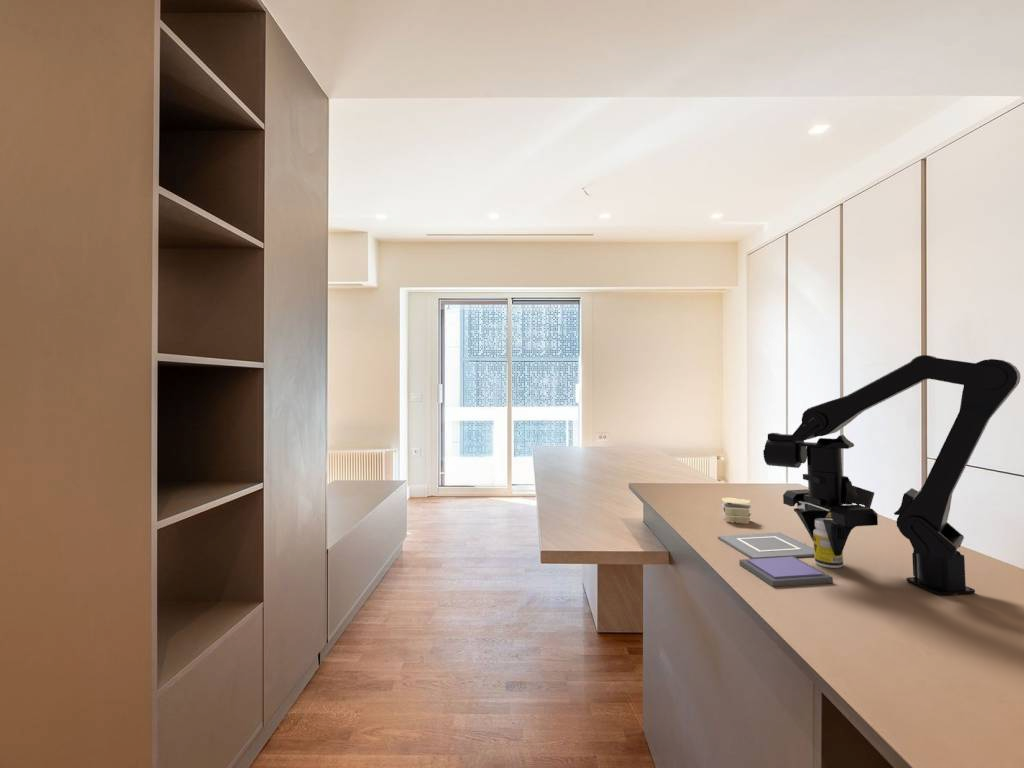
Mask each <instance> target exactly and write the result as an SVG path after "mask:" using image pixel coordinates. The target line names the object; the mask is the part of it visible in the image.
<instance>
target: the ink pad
mask: <svg viewBox="0 0 1024 768" xmlns="http://www.w3.org/2000/svg"><path fill="white" fill-rule="evenodd" d="M738 561H739V563H738V564H739V566H741V567H742V568H744V569H745V570H747V571H748V572H750V573H751V574H753V575H754V576H756V577H757V578H759V579H760V580H762V581H763V582H765V583H766V584H768V585H770V586H771V587H773V588H774V587H775V588H776V587H788V586H790V587H791V586H805V585H818V584H819V585H820V584H833V583H834V578H833V576H831V575H830V574H827V573H826V572H824V571H822V570H820V569H818V568H816V567H814V566H812V565H810V564H808V563H806V562H805V561H803V560H802V559H799V558H798V557H796V558H795V557H793V556H791V557H775V558H758V559H751V558H745V559H739V560H738Z"/></svg>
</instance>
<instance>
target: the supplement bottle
mask: <svg viewBox="0 0 1024 768" xmlns="http://www.w3.org/2000/svg"><path fill="white" fill-rule="evenodd" d="M823 520H832V519H828V518H817V519H815V527H816V529H814V531H813V538H814V542H813V548H814V556H813V557H814V559H813V560H814V563H815V564H816V565H818V566H821V567H823V568H828V569H829V568H832V569H839V568H842V567H843V566H844V555H843V553H844V552H843V551H844V550H843V551H842V554H841V555H840V556H836V555H834V553H833V550H832V548H831V544H830V541H829V538H828V535H827V532H826V529H825V525H824V522H823Z"/></svg>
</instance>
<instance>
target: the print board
mask: <svg viewBox="0 0 1024 768" xmlns="http://www.w3.org/2000/svg"><path fill="white" fill-rule="evenodd" d="M717 539H718V540H720V541H721V542H723V543H724V544H727V545H728V546H730V547H731V548H733V549H735V550H737V551H738V552H739V553H741V554H743V555H745V556H746V557H748V559H758V558H775V557H791V556H793V557H795V558H811V557H814V547H812V546H810V545H808V544H806V543H804V542H802V541H799V540H797V539H795V538H793V537H791V536H789V535H787V534H785V533H782V532H781V531H780V532H762V533H761V532H760V533H748V534H747V533H746V534H745V533H744V534H730V535H729V534H728V535H727V534H726V535H717Z"/></svg>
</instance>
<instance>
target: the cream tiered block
mask: <svg viewBox="0 0 1024 768" xmlns="http://www.w3.org/2000/svg"><path fill="white" fill-rule="evenodd" d="M721 501H722V503H721V505H722V507H723V510H721V511H722V512H721V513H722V515H723V516H724V520H725V521H724V522H726V523H729V522H731V524H734V522H736V523H737V524H738V523H739V524H745V525H748V524H749V523H750V521H751V520H750V518H751V516H752V513H750V509H751V507H752V505H751V504H750V502H751V499H742V498H735V497H722V498H721Z"/></svg>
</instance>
